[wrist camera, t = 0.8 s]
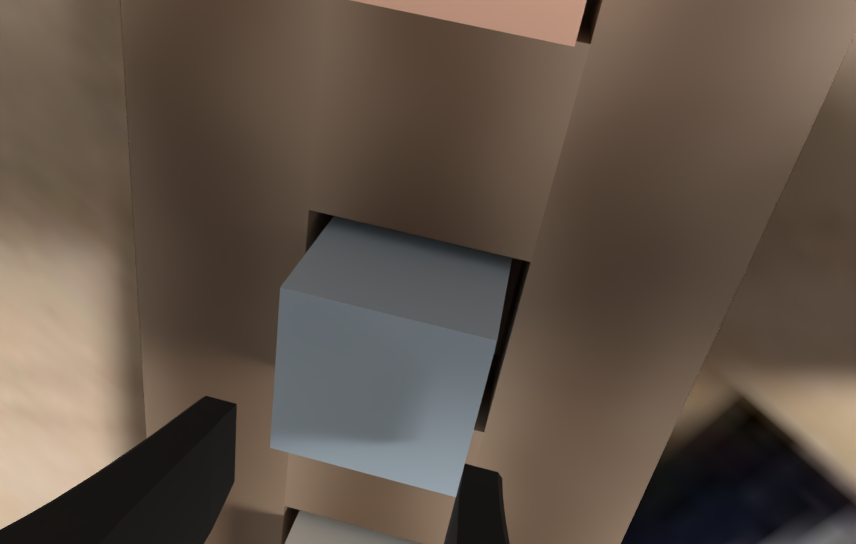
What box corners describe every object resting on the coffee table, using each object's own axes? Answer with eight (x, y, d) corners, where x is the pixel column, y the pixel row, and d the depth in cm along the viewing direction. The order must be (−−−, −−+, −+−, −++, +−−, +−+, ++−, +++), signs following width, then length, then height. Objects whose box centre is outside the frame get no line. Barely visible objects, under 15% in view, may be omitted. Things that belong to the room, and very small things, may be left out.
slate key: (512, 258, 16) (496, 340, 13) (476, 399, 19) (456, 497, 16) (334, 215, 17) (280, 287, 14) (319, 359, 19) (270, 447, 16)
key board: (952, -409, 13) (1119, -541, 9) (539, 618, 28) (532, 734, 24) (220, -515, 14) (79, -675, 10) (213, 527, 29) (157, 625, 25)
